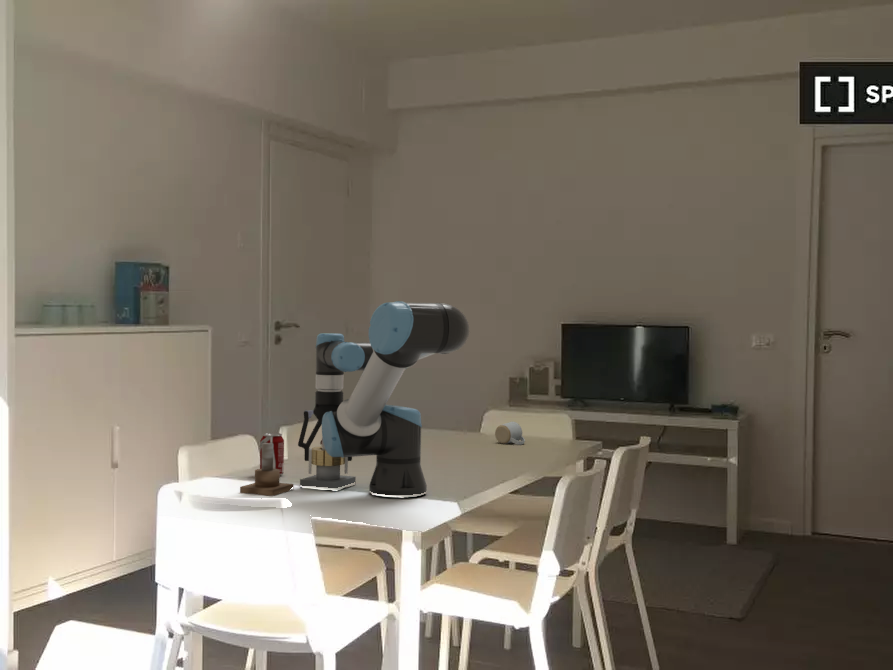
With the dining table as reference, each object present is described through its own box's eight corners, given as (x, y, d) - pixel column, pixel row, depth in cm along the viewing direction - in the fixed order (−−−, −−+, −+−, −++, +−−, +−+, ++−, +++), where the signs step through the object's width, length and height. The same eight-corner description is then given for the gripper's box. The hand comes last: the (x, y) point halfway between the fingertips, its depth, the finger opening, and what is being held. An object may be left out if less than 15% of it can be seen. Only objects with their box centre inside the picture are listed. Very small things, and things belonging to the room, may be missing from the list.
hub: (355, 485, 268) (356, 436, 268) (335, 491, 258) (336, 441, 257) (320, 482, 272) (321, 434, 272) (299, 488, 262) (300, 438, 262)
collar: (344, 460, 270) (344, 446, 270) (345, 465, 261) (345, 451, 261) (311, 460, 269) (311, 446, 269) (311, 465, 260) (311, 451, 260)
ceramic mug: (493, 443, 360) (493, 422, 360) (505, 440, 367) (506, 420, 366) (517, 446, 354) (517, 425, 354) (529, 444, 360) (530, 423, 360)
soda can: (285, 473, 285) (285, 432, 284) (281, 477, 278) (282, 435, 278) (261, 473, 284) (262, 432, 284) (258, 477, 278) (258, 435, 277)
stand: (293, 489, 260) (294, 442, 260) (272, 495, 251) (273, 447, 250) (261, 486, 264) (262, 440, 263) (240, 492, 254) (240, 444, 254)
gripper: (368, 389, 269) (367, 470, 270) (289, 388, 267) (287, 470, 267) (370, 391, 262) (368, 475, 263) (288, 391, 259) (287, 475, 260)
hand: (328, 472), depth 265 cm, fingers closed on collar, 9 cm apart
